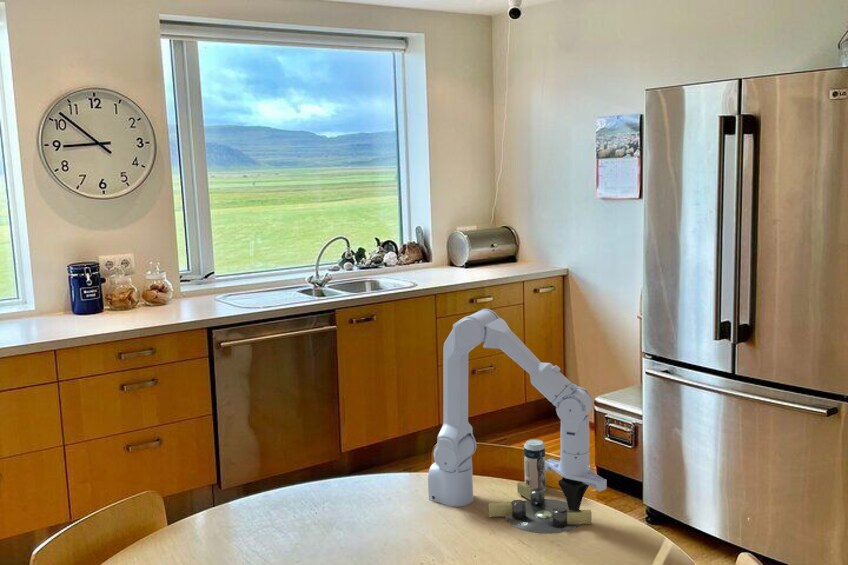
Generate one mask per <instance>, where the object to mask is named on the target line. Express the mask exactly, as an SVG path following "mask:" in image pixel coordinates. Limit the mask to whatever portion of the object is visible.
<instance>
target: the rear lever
mask: <svg viewBox="0 0 848 565" xmlns="http://www.w3.org/2000/svg"><path fill="white" fill-rule="evenodd" d="M516 487H517V494H518V495H521V496H523V497H524V498H526V500H530V502H531V505H532V506H536V507H540V506H543V505H544V504H545V499H546V498H545V491H544V490H543V489H539V488H533V487H531V486H529V485H527V484H526V483H525V481H524V482H523V481H518V482H517V486H516Z"/></svg>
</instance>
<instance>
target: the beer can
mask: <svg viewBox="0 0 848 565" xmlns="http://www.w3.org/2000/svg"><path fill="white" fill-rule="evenodd" d="M523 458H524V461H523V462H524V463H523V464H524V465H523V466H524V483H526V484H527V485H529V486H531V487H533V488H539V489H543V490H544V492H546V489H547V486H546V484H547V482H546V480H547V479H546V478H547V477H546V474H547V473H546V470H545V461H546V444H545V443H544V441H543V440H542V439H537V438H536V439H535V438H533V439H532V438H531V439H528V440H526V441H525V443H524V445H523Z"/></svg>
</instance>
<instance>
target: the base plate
mask: <svg viewBox="0 0 848 565" xmlns="http://www.w3.org/2000/svg"><path fill="white" fill-rule="evenodd" d="M524 501H525V502H526V517H525V518H522V519H516V518H513V517H512V516H504V518H505V520H506V521H507V523H508V524H510V525H511V526H512V527H514V528H516V529H518V530H520V531H523V532H527V533H532V534H540V535H542V534H545V535H548V534H549V535H551V534H552V535H553V534H561V533H566V532H568V531H571V530H574V529H576V528H577V527H578V526H580V525H581V524H568V525H567V526H566V527H556V526H554V525H553V518H552V510H553V509H554V508H565V509H567V510H569V508H568V504H567V501H566V502H565V501H563V500H558V499H551V498H545V504H544V505H543V506H540V507H536V506H532V505H531V502H530V500H529V499H525V500H524Z"/></svg>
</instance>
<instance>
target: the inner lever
mask: <svg viewBox="0 0 848 565" xmlns="http://www.w3.org/2000/svg"><path fill="white" fill-rule="evenodd" d="M487 509H488V517H490V518H492V517H493V518H494V517H495V518H496V517H505V516H512V517H513V518H516V519H522V518H525V517H526V502H525V500H524V499H523V500H522V499H514V500H511V502H489V503H488V505H487Z"/></svg>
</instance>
